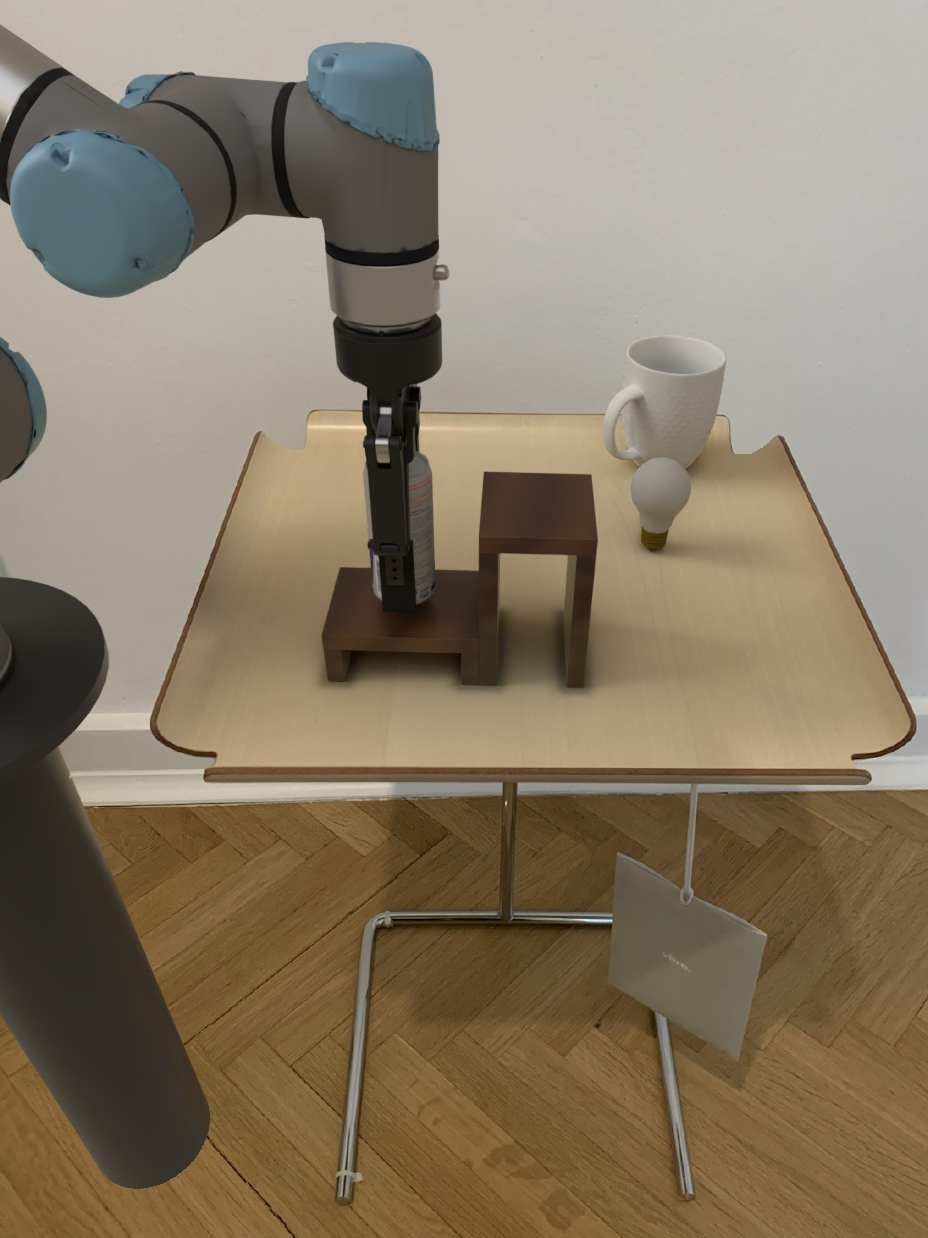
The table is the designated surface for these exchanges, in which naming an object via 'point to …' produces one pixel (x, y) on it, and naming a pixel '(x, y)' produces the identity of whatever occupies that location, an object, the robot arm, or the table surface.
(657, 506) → the light bulb
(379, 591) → the energy drink
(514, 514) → the shelf
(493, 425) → the table surface
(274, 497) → the table surface
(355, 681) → the table surface
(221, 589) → the table surface
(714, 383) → the mug
